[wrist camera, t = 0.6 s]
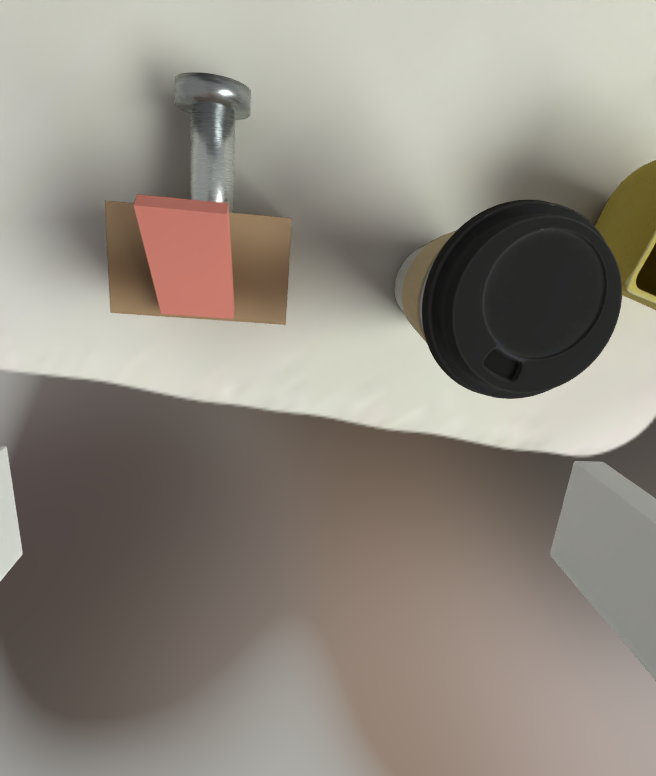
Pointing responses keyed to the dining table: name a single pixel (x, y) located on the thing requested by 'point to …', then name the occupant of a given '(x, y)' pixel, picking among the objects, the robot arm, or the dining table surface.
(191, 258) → the block
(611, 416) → the dining table surface
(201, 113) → the pin
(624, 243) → the flower pot
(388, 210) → the dining table surface
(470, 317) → the coffee cup
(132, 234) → the block
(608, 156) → the dining table surface
